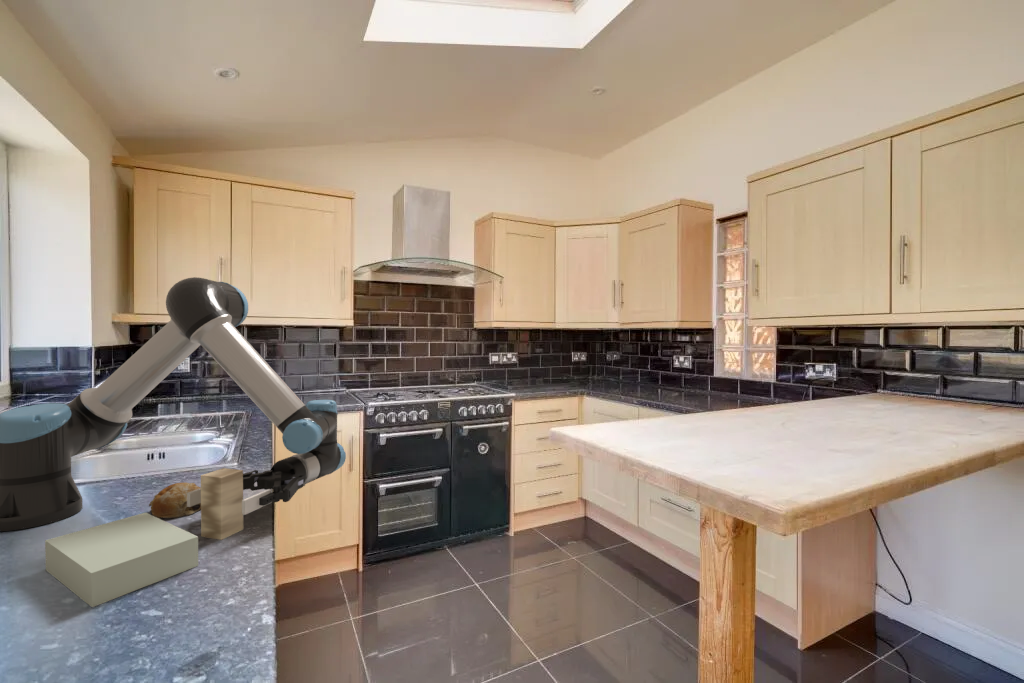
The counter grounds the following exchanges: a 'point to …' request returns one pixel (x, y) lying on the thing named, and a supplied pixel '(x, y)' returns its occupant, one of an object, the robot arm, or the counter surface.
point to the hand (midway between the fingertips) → (215, 503)
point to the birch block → (221, 503)
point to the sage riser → (120, 557)
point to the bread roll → (174, 501)
